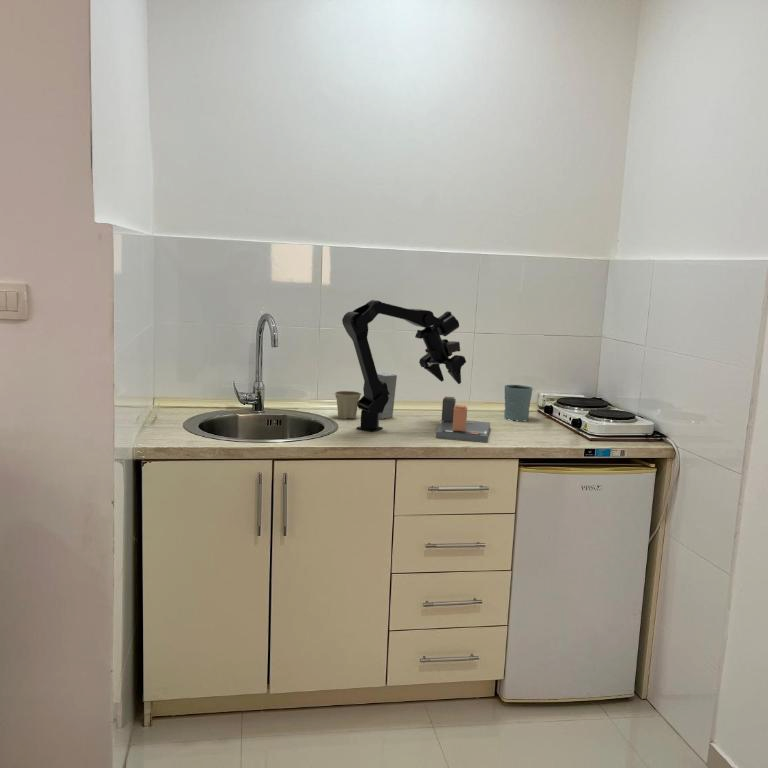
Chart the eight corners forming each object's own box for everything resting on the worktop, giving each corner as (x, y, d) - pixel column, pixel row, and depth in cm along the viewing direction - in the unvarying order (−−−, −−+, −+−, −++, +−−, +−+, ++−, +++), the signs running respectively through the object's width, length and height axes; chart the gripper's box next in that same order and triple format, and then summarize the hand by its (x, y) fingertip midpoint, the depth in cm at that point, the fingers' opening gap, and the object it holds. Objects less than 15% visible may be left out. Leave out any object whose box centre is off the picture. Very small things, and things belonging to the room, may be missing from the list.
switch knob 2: (452, 430, 244) (453, 406, 242) (453, 427, 247) (455, 404, 246) (464, 431, 243) (466, 407, 242) (465, 428, 247) (467, 405, 246)
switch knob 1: (441, 420, 258) (442, 398, 257) (442, 418, 262) (444, 396, 261) (453, 421, 257) (454, 399, 256) (454, 419, 261) (455, 397, 260)
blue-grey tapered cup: (508, 421, 274) (510, 388, 272) (497, 416, 283) (500, 384, 282) (534, 421, 276) (537, 389, 274) (523, 416, 286) (525, 384, 284)
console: (434, 437, 243) (434, 430, 243) (441, 424, 264) (441, 417, 264) (486, 442, 240) (486, 435, 240) (489, 428, 262) (490, 421, 261)
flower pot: (336, 413, 273) (337, 389, 272) (362, 415, 272) (363, 391, 271) (331, 418, 264) (331, 394, 263) (357, 421, 263) (358, 396, 261)
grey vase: (364, 415, 272) (366, 371, 269) (377, 413, 277) (379, 370, 275) (382, 420, 266) (384, 375, 264) (395, 417, 272) (397, 373, 269)
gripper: (468, 332, 253) (485, 371, 259) (433, 330, 268) (449, 367, 274) (445, 349, 248) (462, 389, 254) (411, 346, 263) (428, 384, 269)
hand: (451, 382), depth 263 cm, fingers open, 9 cm apart
